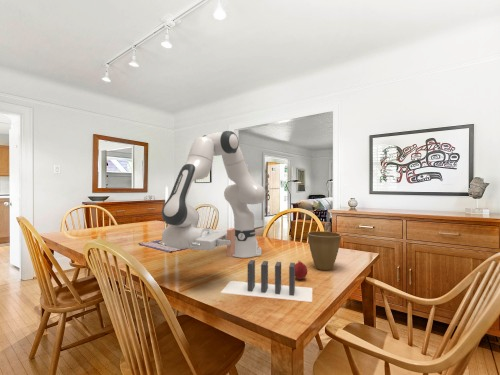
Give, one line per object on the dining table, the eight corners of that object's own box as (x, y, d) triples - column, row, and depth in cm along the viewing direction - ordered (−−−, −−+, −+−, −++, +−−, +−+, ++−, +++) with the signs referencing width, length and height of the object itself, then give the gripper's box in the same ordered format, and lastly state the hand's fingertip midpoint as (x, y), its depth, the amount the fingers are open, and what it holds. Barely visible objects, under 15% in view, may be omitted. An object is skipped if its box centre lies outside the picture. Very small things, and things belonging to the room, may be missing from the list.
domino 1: (250, 286, 101) (250, 259, 101) (255, 286, 101) (254, 260, 101) (247, 291, 96) (247, 263, 96) (251, 291, 96) (251, 264, 96)
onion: (305, 277, 111) (305, 258, 111) (308, 282, 105) (308, 262, 105) (291, 277, 111) (291, 258, 111) (294, 282, 105) (294, 262, 105)
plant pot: (343, 274, 114) (343, 237, 114) (307, 272, 117) (307, 236, 117) (338, 264, 129) (338, 231, 129) (307, 262, 132) (307, 230, 132)
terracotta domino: (231, 252, 106) (231, 228, 106) (234, 253, 106) (234, 228, 106) (227, 256, 101) (227, 230, 101) (230, 256, 101) (230, 230, 101)
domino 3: (276, 288, 99) (276, 261, 99) (281, 288, 98) (281, 261, 98) (275, 293, 94) (274, 265, 94) (279, 294, 94) (279, 266, 93)
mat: (230, 281, 107) (230, 280, 107) (312, 288, 99) (312, 287, 99) (220, 293, 95) (220, 292, 95) (312, 302, 87) (312, 301, 87)
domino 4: (290, 289, 98) (290, 262, 97) (294, 290, 97) (294, 262, 97) (289, 295, 93) (289, 266, 93) (293, 295, 92) (293, 267, 92)
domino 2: (263, 287, 100) (263, 260, 100) (267, 287, 100) (267, 261, 99) (261, 292, 95) (261, 264, 95) (265, 292, 95) (265, 265, 95)
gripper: (188, 235, 97) (224, 237, 93) (210, 227, 116) (240, 228, 113) (188, 253, 97) (224, 255, 93) (210, 241, 116) (240, 243, 113)
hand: (233, 240), depth 103 cm, fingers closed on terracotta domino, 5 cm apart
